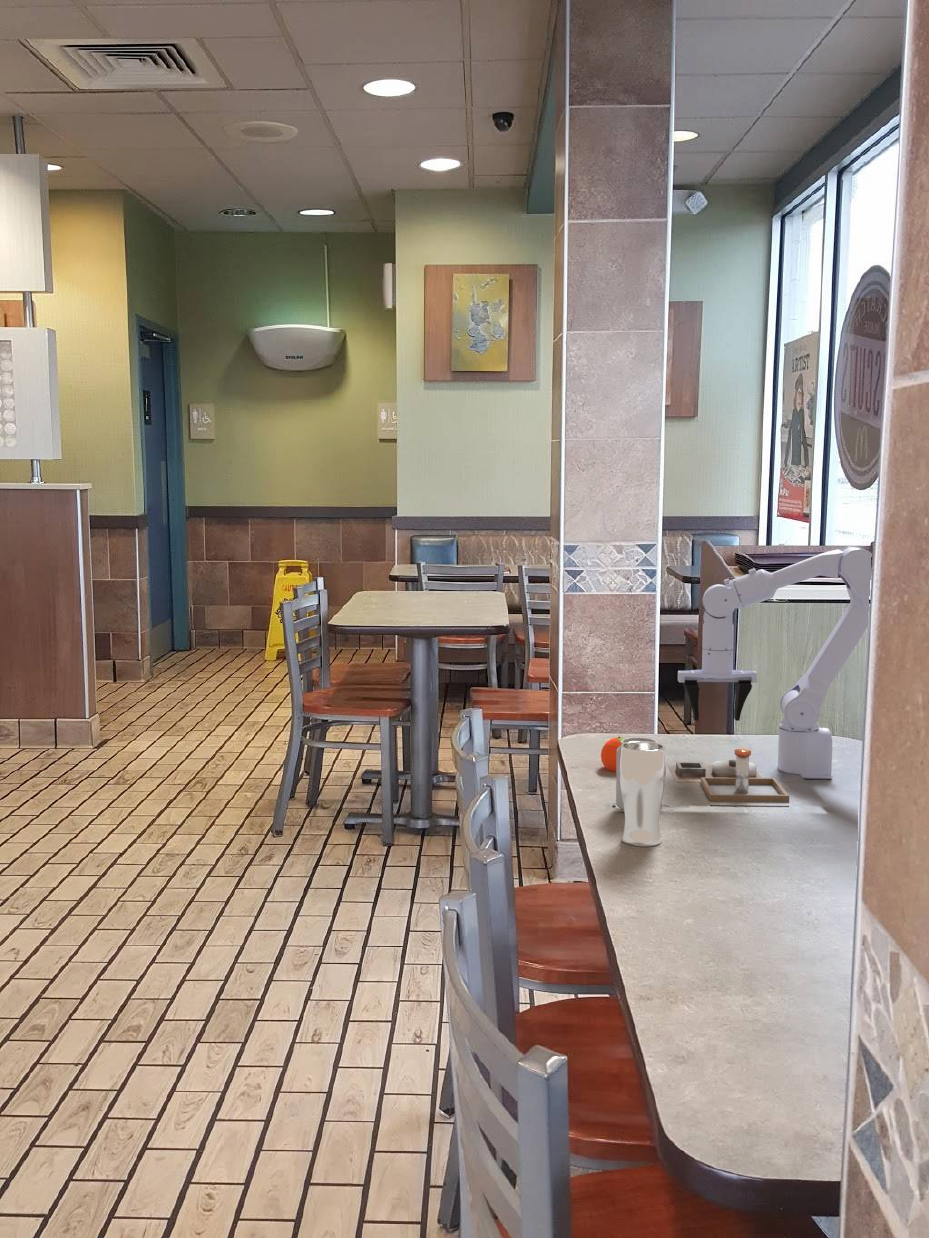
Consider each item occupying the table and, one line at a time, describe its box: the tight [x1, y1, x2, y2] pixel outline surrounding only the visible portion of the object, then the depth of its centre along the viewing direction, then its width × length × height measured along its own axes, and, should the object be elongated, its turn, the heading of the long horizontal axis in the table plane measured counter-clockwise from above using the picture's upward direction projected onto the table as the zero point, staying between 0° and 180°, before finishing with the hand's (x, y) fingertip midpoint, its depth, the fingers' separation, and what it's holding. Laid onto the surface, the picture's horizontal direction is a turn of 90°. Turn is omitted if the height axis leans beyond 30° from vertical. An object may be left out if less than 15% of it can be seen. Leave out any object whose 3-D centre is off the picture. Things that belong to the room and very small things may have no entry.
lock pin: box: [733, 748, 752, 794], centre depth 196 cm, size 3×3×8 cm
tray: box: [700, 777, 790, 808], centre depth 196 cm, size 13×11×2 cm
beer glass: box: [620, 741, 666, 848], centre depth 172 cm, size 7×7×15 cm
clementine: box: [600, 736, 626, 773], centre depth 212 cm, size 8×7×7 cm
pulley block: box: [667, 759, 763, 783], centre depth 208 cm, size 16×12×3 cm
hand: (716, 719), depth 213 cm, fingers open, 7 cm apart
